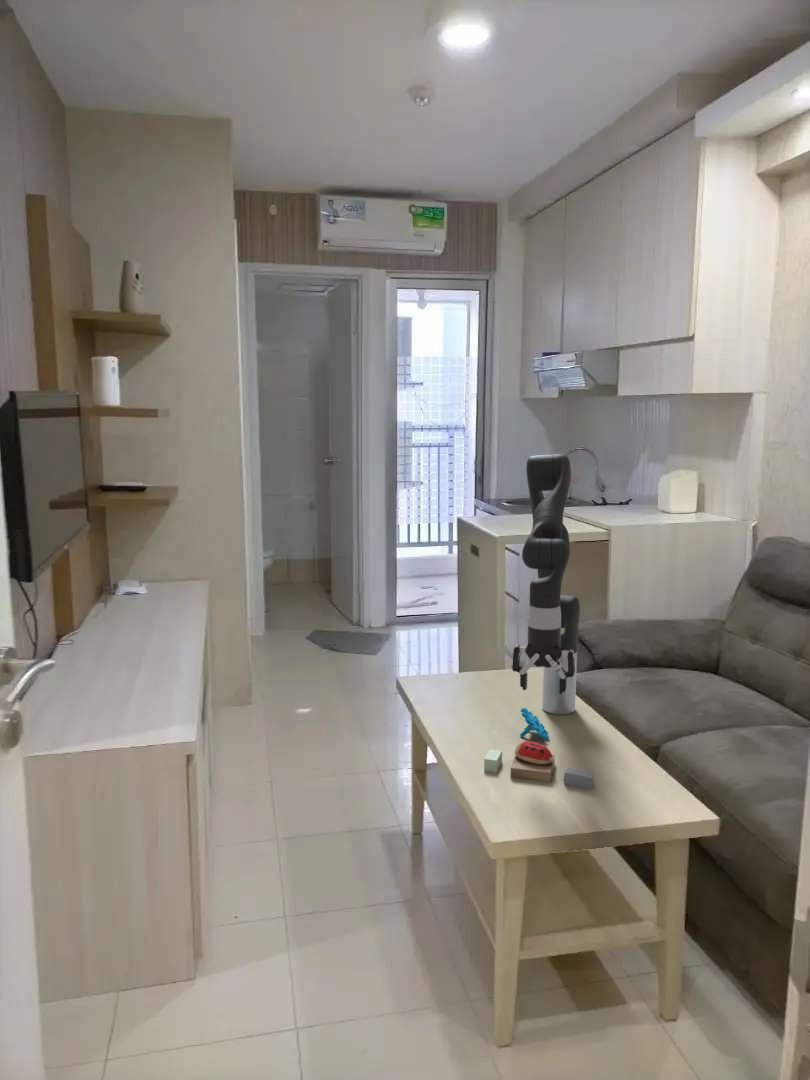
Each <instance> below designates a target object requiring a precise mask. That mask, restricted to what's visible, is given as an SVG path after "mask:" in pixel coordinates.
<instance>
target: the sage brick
mask: <svg viewBox="0 0 810 1080" xmlns="http://www.w3.org/2000/svg"><path fill="white" fill-rule="evenodd" d="M502 762H503V750H499V749H491V748H489V750H488V752H487V753H486V755H485V757H484V759H483V770H484V771H487V772H492V773H494V772H495V773H497V772H498V770H499V768H500V766H501V765H502Z"/></svg>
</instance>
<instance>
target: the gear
mask: <svg viewBox="0 0 810 1080" xmlns="http://www.w3.org/2000/svg"><path fill="white" fill-rule="evenodd" d="M520 712H521V716H522V717H523V718H524V721H525V723H526V724H527V726H525V728H523V731H522V732H520V734H519V736H520V737H521V738H524V737H525V736H526V735H527V734H528V733H530V732H531V731H532V732H535V731H536V735H537V736H538V737H539V738H542V739H543V740H544V741H546V740H548V739H549V738H550V735H549V732H548V731H547V730H546V729H545V728H546V726H545V725H544V724H543V723H541V722H540V719H539V718H538V716H537V715H536V714H534V713H533V712H532V711H531V710H530V711H529V710H528V709H527V708H526V707H523V708H522V709H520Z"/></svg>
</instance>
